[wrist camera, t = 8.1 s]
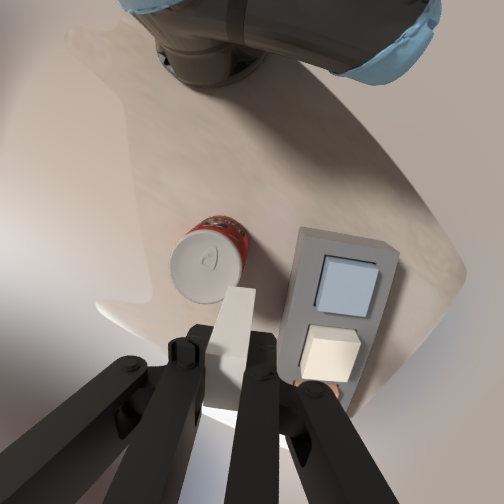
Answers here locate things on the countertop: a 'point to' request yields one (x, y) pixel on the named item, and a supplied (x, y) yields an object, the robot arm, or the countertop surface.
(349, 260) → the slate key
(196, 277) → the canned food
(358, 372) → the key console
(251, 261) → the countertop surface
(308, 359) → the ivory key
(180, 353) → the robot arm
